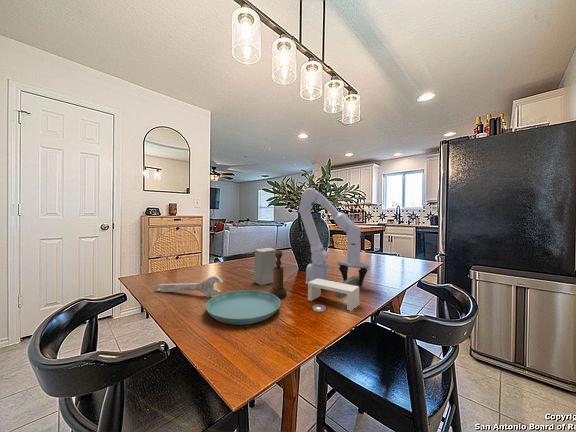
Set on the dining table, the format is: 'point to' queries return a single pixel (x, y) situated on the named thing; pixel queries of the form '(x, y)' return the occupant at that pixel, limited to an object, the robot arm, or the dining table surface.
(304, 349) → the dining table surface
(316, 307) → the steel disc
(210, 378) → the dining table surface
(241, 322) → the saucer
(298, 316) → the dining table surface
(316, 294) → the low bench
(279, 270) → the pepper mill
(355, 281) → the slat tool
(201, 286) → the wrench
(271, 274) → the skincare box
